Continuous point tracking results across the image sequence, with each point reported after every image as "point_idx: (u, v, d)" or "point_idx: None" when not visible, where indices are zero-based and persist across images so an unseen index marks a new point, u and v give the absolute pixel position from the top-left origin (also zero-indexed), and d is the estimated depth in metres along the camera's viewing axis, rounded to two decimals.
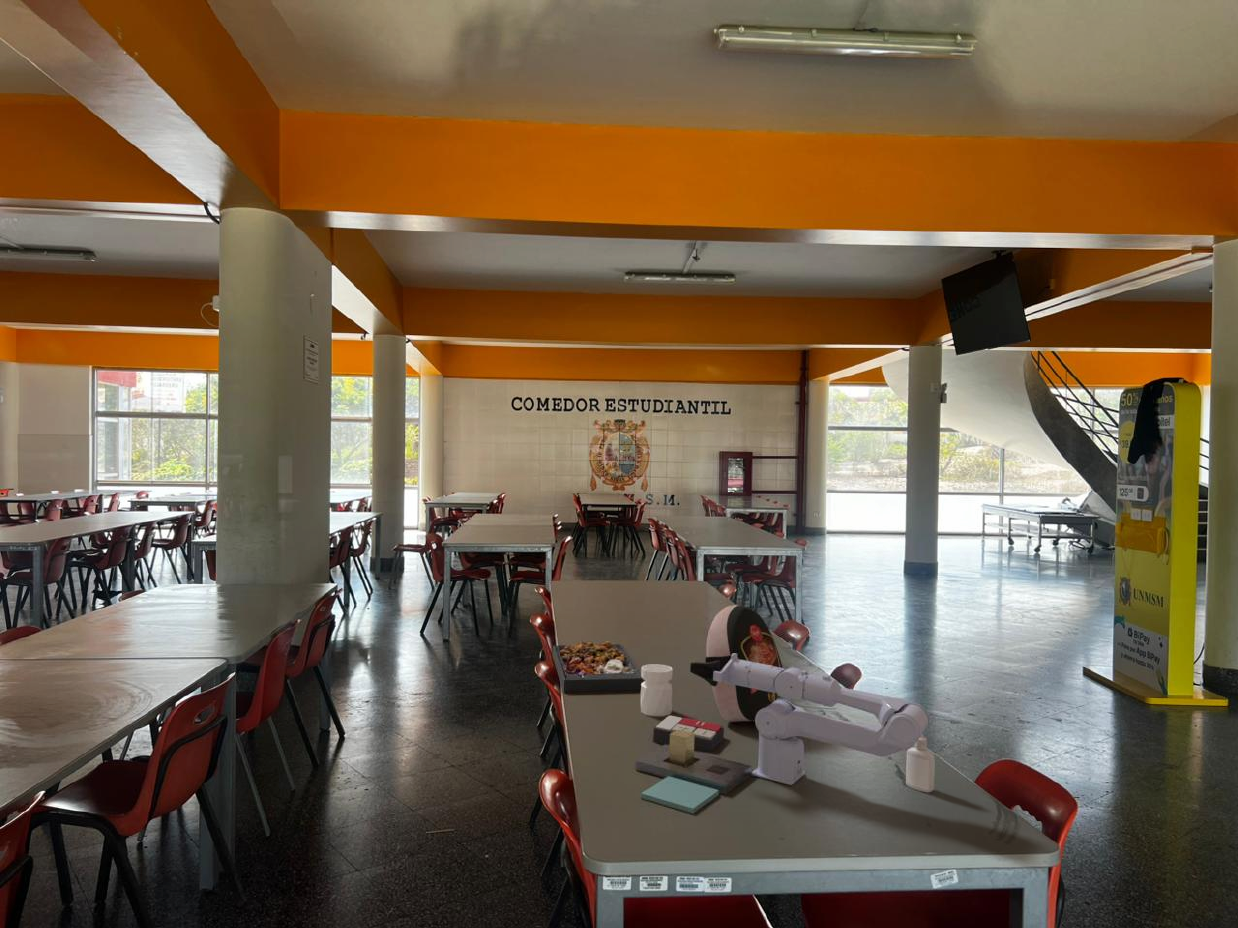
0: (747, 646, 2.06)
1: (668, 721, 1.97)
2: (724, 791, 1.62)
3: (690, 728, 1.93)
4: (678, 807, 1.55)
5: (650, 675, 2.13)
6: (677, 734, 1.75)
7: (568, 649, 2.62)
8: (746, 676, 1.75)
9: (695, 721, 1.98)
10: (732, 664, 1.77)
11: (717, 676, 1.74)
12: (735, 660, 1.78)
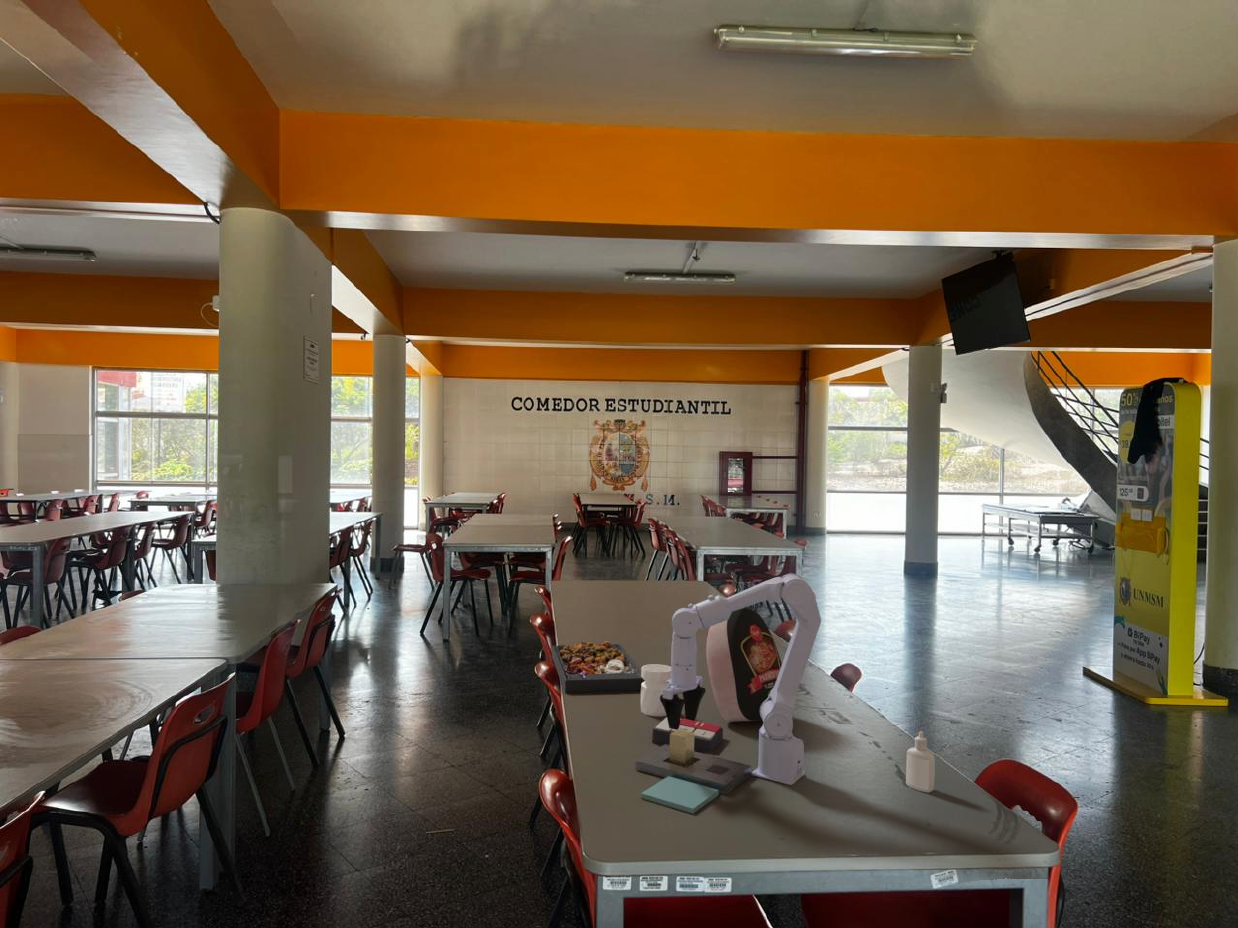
0: (747, 646, 2.06)
1: (667, 722, 1.97)
2: (724, 791, 1.62)
3: (689, 729, 1.92)
4: (678, 807, 1.55)
5: (650, 675, 2.13)
6: (677, 734, 1.75)
7: (568, 649, 2.62)
8: (677, 666, 1.73)
9: (694, 722, 1.97)
10: (671, 682, 1.75)
11: (666, 693, 1.69)
12: None
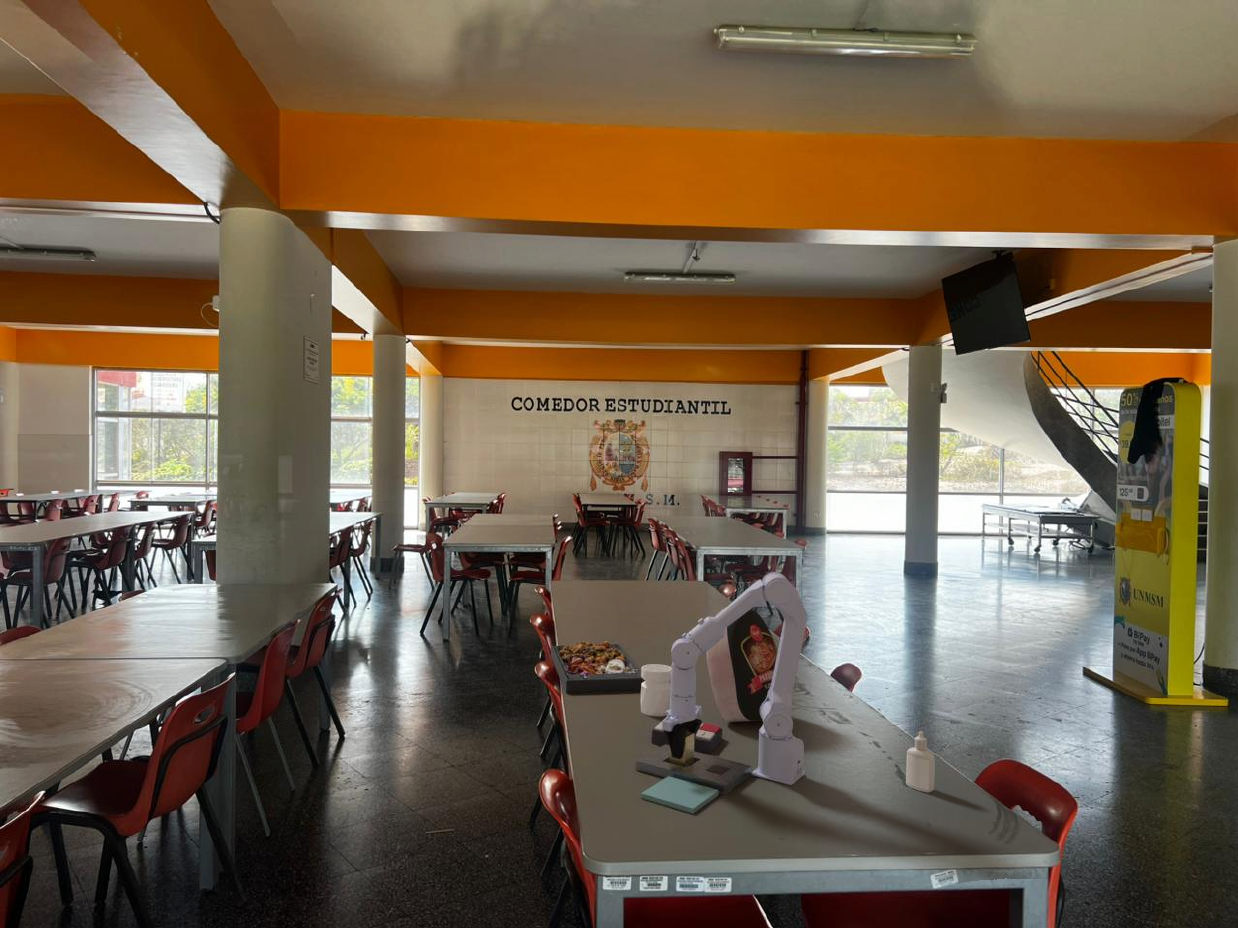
0: (747, 646, 2.06)
1: None
2: (724, 791, 1.62)
3: None
4: (678, 807, 1.55)
5: (650, 675, 2.13)
6: None
7: (568, 650, 2.62)
8: (676, 697, 1.73)
9: None
10: (670, 712, 1.75)
11: (665, 725, 1.69)
12: None
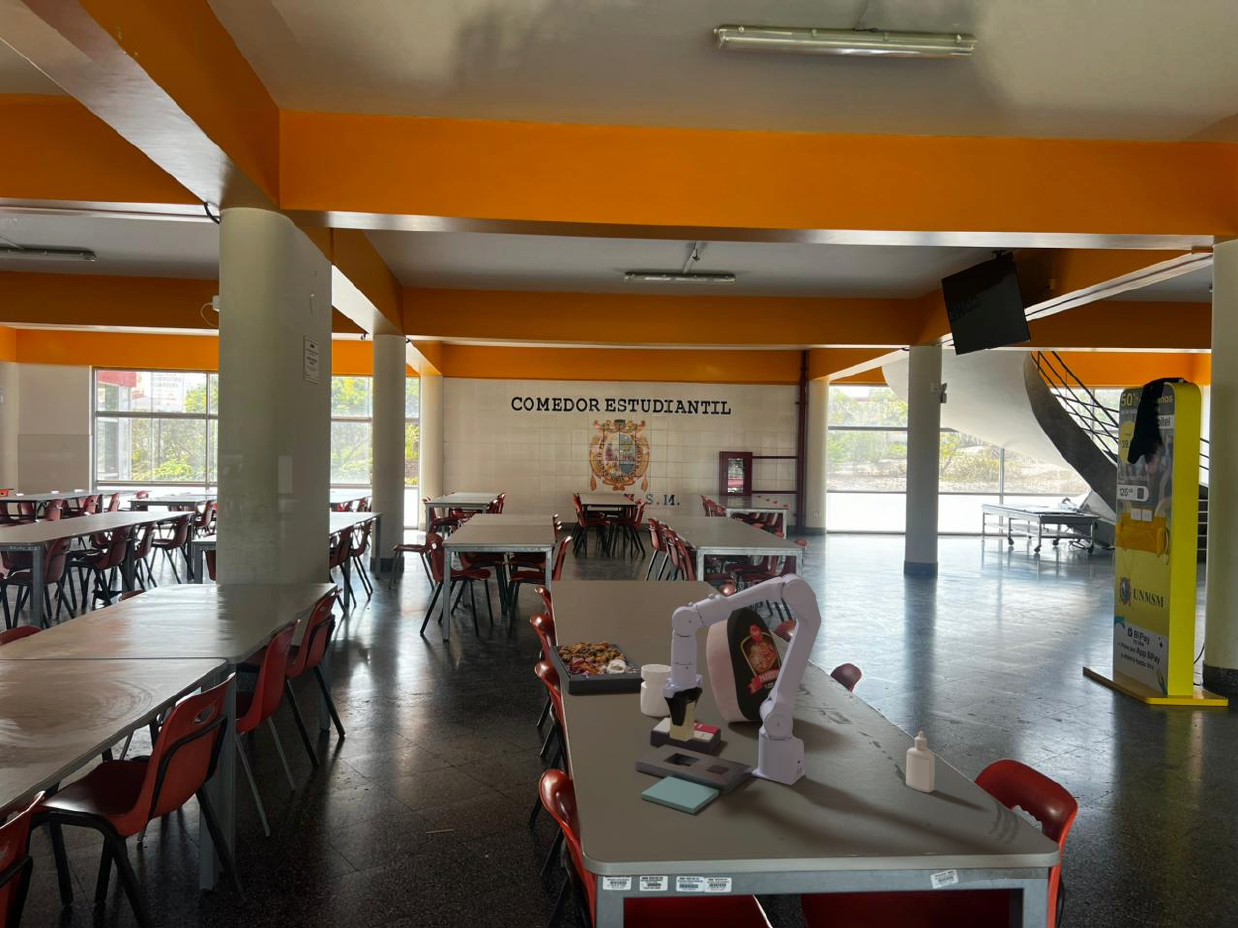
0: (747, 646, 2.06)
1: (665, 723, 1.95)
2: (724, 791, 1.62)
3: None
4: (678, 807, 1.55)
5: (650, 675, 2.13)
6: None
7: (567, 650, 2.61)
8: (677, 665, 1.73)
9: None
10: (671, 680, 1.75)
11: (666, 692, 1.69)
12: None
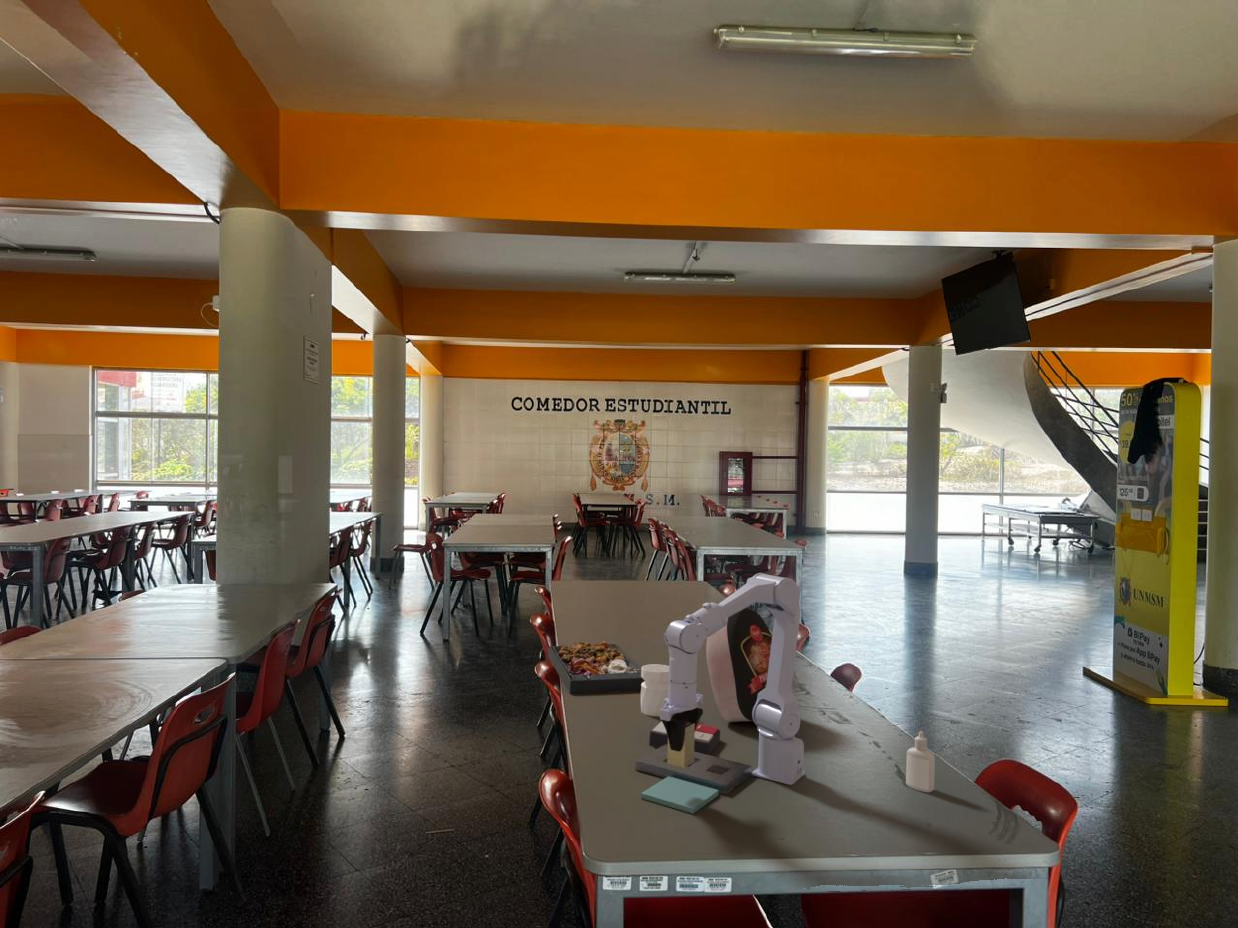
0: (747, 646, 2.06)
1: None
2: (724, 791, 1.62)
3: None
4: (678, 807, 1.55)
5: (650, 675, 2.13)
6: None
7: (567, 650, 2.61)
8: (675, 684, 1.59)
9: None
10: (669, 701, 1.60)
11: (663, 714, 1.55)
12: None
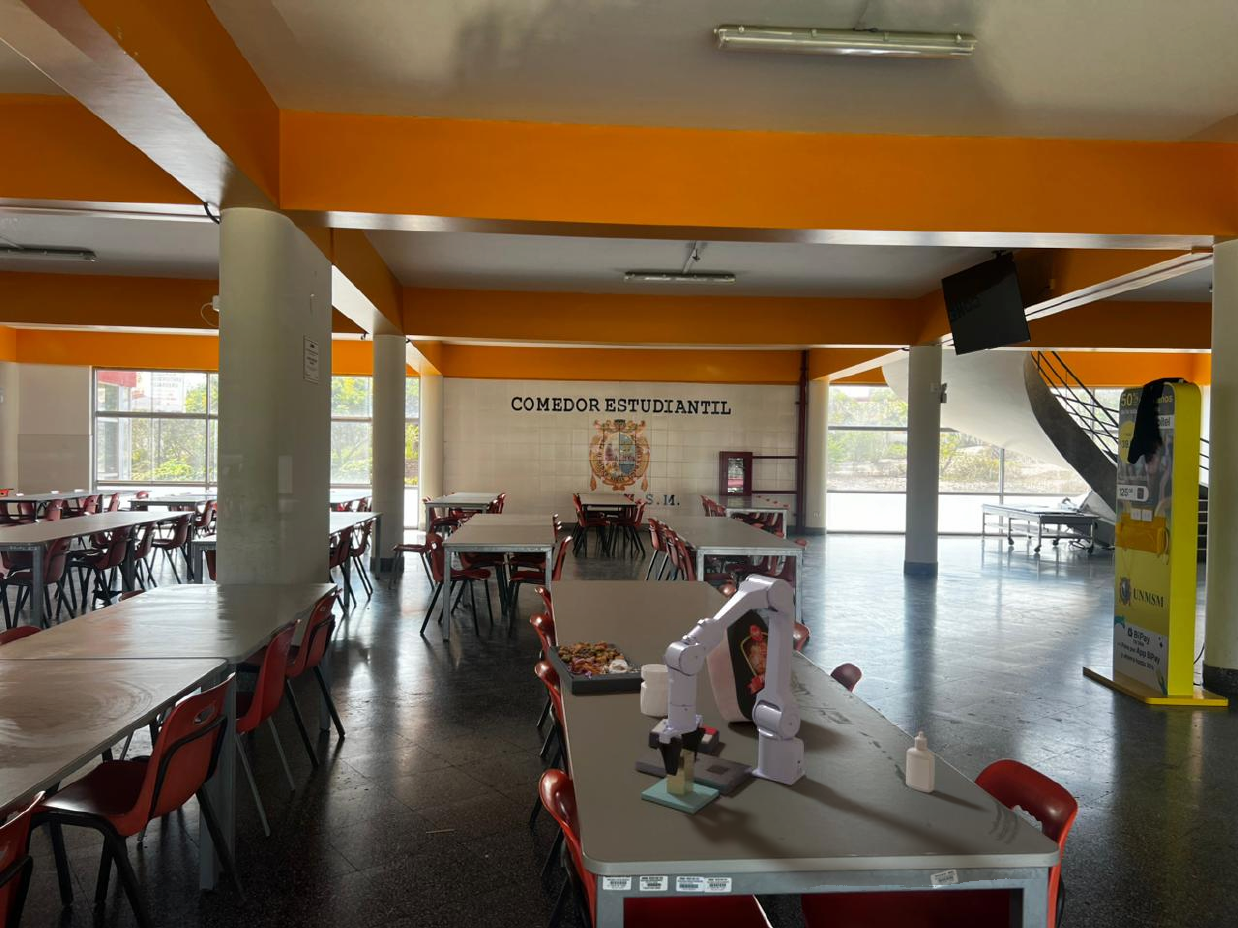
0: (747, 646, 2.06)
1: (663, 725, 1.94)
2: (724, 791, 1.62)
3: None
4: (678, 807, 1.55)
5: (650, 675, 2.13)
6: None
7: (567, 650, 2.61)
8: (674, 706, 1.59)
9: None
10: (668, 722, 1.60)
11: (663, 737, 1.55)
12: None
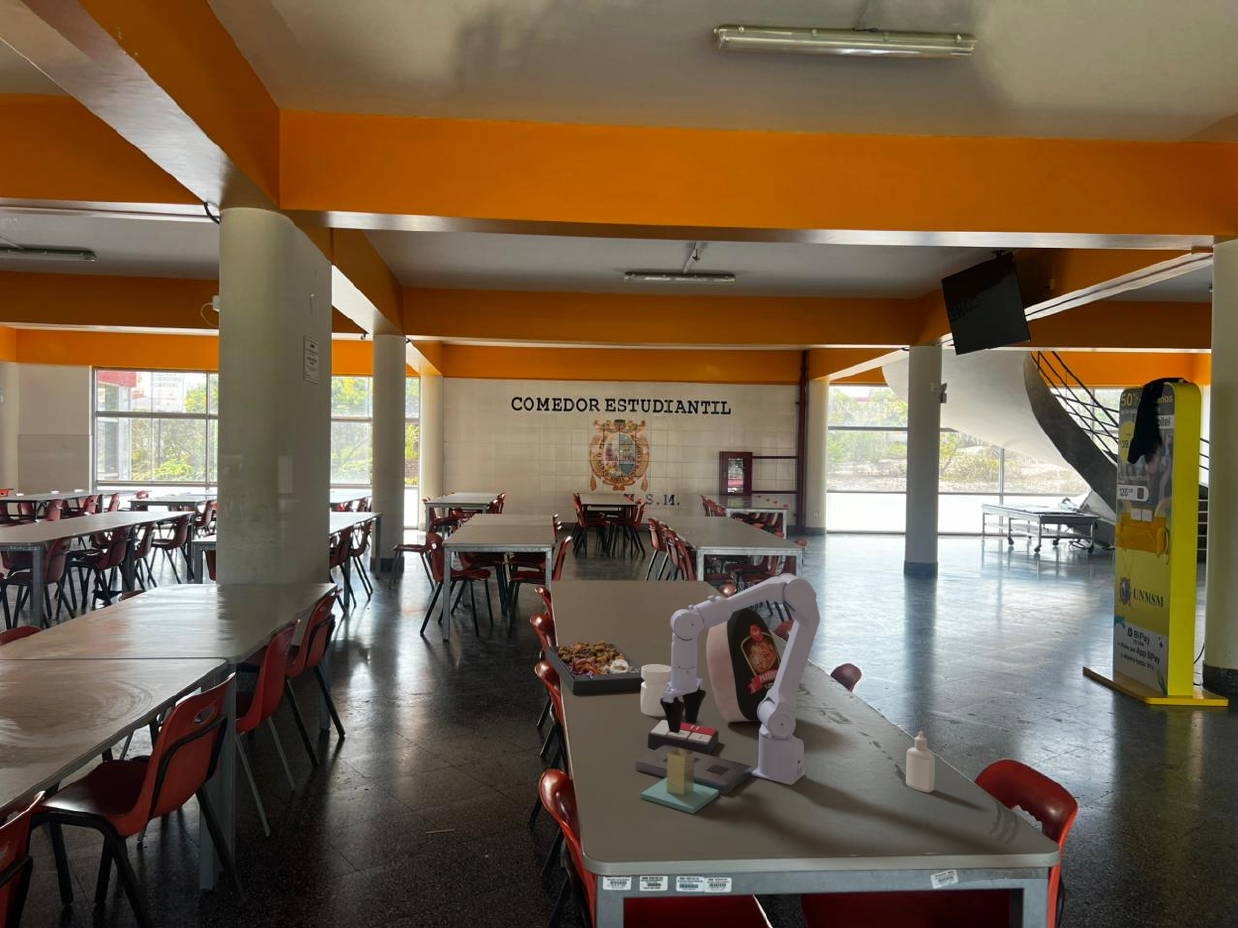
0: (747, 646, 2.06)
1: (662, 726, 1.93)
2: (724, 791, 1.62)
3: (685, 733, 1.89)
4: (678, 807, 1.55)
5: (650, 675, 2.13)
6: (675, 753, 1.60)
7: (566, 650, 2.61)
8: (677, 669, 1.70)
9: (689, 725, 1.95)
10: (671, 684, 1.72)
11: (667, 697, 1.66)
12: None
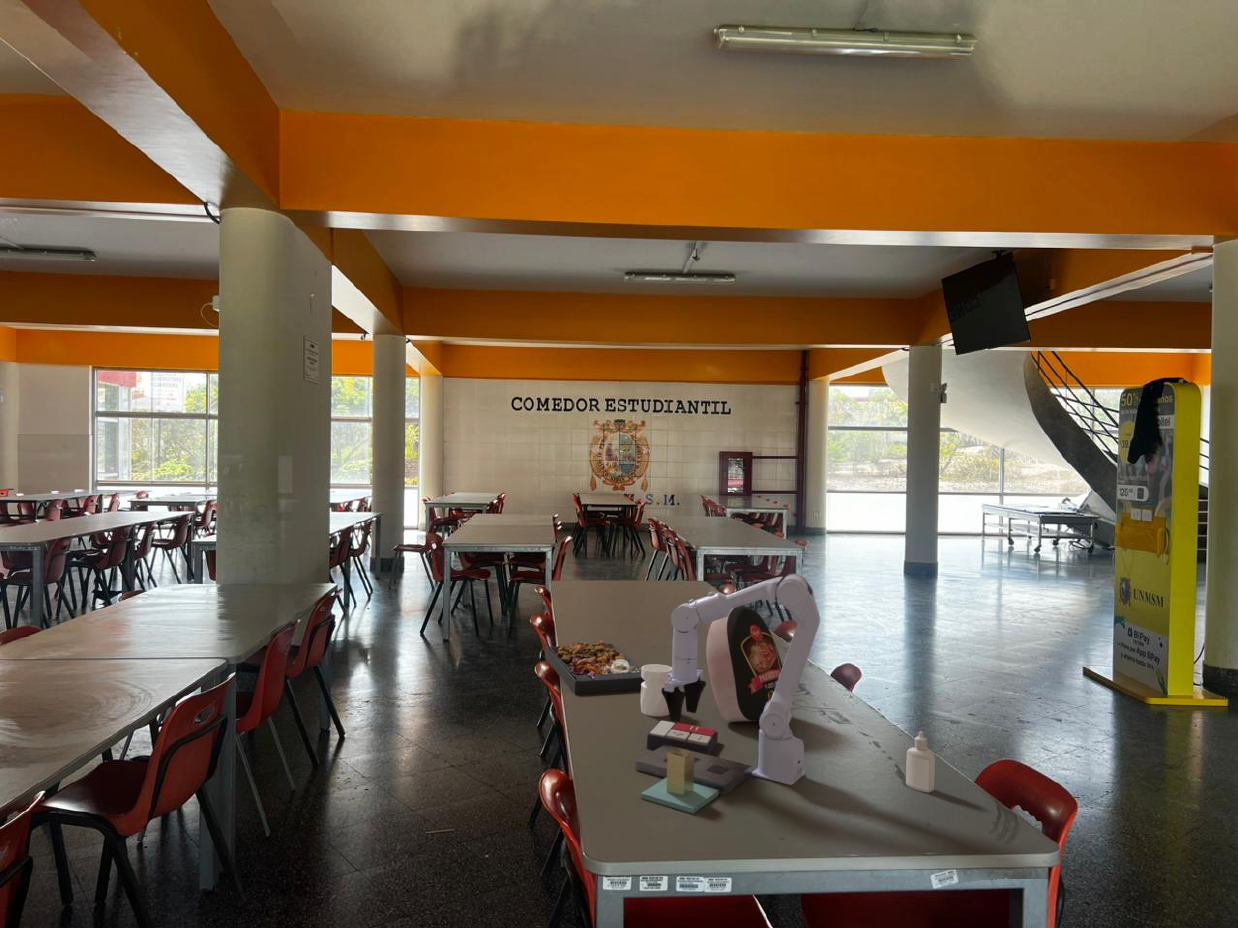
0: (747, 646, 2.06)
1: (661, 726, 1.93)
2: (724, 791, 1.62)
3: (685, 733, 1.89)
4: (678, 807, 1.55)
5: (650, 675, 2.13)
6: (675, 753, 1.60)
7: (566, 650, 2.60)
8: (678, 660, 1.78)
9: (688, 726, 1.94)
10: (672, 675, 1.79)
11: (668, 686, 1.74)
12: None
